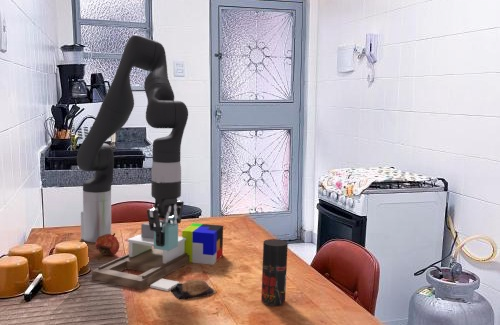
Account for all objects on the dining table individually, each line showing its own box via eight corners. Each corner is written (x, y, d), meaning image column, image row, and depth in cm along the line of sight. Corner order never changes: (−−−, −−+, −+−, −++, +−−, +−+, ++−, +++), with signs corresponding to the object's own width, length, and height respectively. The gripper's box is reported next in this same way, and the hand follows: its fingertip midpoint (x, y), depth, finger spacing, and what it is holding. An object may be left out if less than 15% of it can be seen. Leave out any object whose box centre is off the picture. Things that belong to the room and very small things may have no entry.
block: (168, 250, 122) (168, 228, 121) (153, 248, 124) (153, 225, 123) (177, 246, 126) (178, 224, 126) (163, 244, 128) (163, 222, 127)
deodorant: (260, 296, 121) (262, 239, 120) (283, 296, 122) (285, 239, 120) (262, 306, 116) (264, 246, 114) (286, 306, 116) (289, 246, 114)
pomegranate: (111, 267, 145) (130, 242, 151) (98, 252, 141) (117, 226, 147) (96, 265, 149) (115, 240, 155) (82, 250, 145) (102, 225, 151)
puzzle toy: (213, 266, 144) (213, 233, 143) (181, 262, 146) (182, 230, 145) (222, 256, 154) (223, 225, 153) (192, 253, 156) (193, 223, 155)
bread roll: (204, 285, 129) (204, 272, 129) (219, 296, 122) (219, 282, 122) (167, 292, 124) (167, 278, 123) (180, 303, 117) (181, 289, 116)
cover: (127, 256, 142) (127, 226, 140) (147, 247, 151) (147, 218, 150) (167, 263, 136) (168, 232, 135) (185, 254, 145) (186, 224, 144)
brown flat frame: (91, 278, 129) (91, 268, 129) (146, 253, 152) (146, 245, 152) (140, 289, 123) (141, 279, 123) (190, 261, 146) (190, 252, 146)
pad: (150, 287, 125) (150, 285, 125) (161, 280, 130) (162, 278, 130) (168, 291, 123) (168, 288, 123) (179, 284, 128) (179, 282, 128)
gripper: (169, 174, 131) (168, 235, 133) (137, 181, 118) (137, 248, 120) (193, 176, 128) (192, 238, 130) (163, 184, 115) (162, 253, 117)
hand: (165, 243), depth 125 cm, fingers closed on block, 4 cm apart
